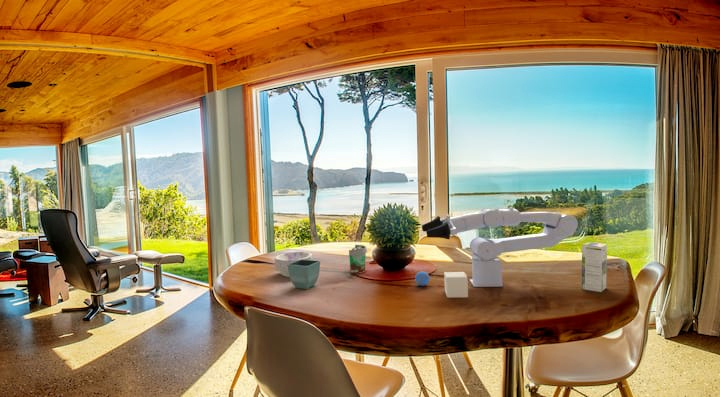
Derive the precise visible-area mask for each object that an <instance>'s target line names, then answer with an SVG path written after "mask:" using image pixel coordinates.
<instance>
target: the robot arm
mask: <svg viewBox="0 0 720 397" xmlns="http://www.w3.org/2000/svg"><path fill="white" fill-rule="evenodd" d="M521 222H522V223H541V224H544V227H543V230H542V232H541V233H534V234H526V235H525V234H524V235H518V236H511V237H503V238H502V237H501V238H483V237H480V236H479V237H478V236H477V237H474V238H472V240H471V241H470V243H469V249H470V251H471V253H473V254H472V255H471V265H472V266H471V268H472V269H471V270H472V278H470V279H469V282H470V283H471V285H472V286H473V287H475V288H478V287H480V288H483V287H484V288H485V287H487V288H488V287H489V288H490V287H495V288H496V287H498V288H499V287H503V268H502V267H503V265H502V261H501V259H500V258H498V257H500V256H501V255H503V254H504V253H506V254H507V253H512V252H513V253H514V252H519V251H528V250H537V249H543V248H552V247H554V246H556V245H558V244H560V243H561V242H562V241H563V240H564V239H567V238H568V237H572V236H574V233H575V232H576V231H577V229H578V225H579V223H578V222H579V221H578V219H577V218H576V216H573V215H571V214H565V213H559V212H551V211H528V212H520V211H519V210H518V209H516V208H514V207H508V208H507V209H506V208H504V209H503V208H502V209H500V208H498V207H494V209H488V208H483V209H481V210H480V211H477V212H471V213H470V212H469V213H466V214H461V215H457V216H456V215H455V216H450V215H449V214H446V217H445V218H441V216H440V215H438V216H436V217H435V218H434V219H432V220H431V221H428V222H426V223H424V224H422V225H421V229H422V230H421V231H422V232H426V237H427V238H440V239H445V240H450V239H451V237H450V236H455V235H458V234H460V233H465V232H469V231H473V230H474V231H475V230H479V229H482V228H486V227H488V228H493V229H495V228H496V227H510V226H511V227H515V226H517V227H518V225H520V223H521ZM495 257H497V258H495Z"/></svg>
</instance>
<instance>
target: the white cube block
mask: <svg viewBox="0 0 720 397" xmlns="http://www.w3.org/2000/svg"><path fill="white" fill-rule="evenodd" d="M443 275H444V276H443V282H444V283H443V284H444V293H445V295H446V298H469V292H468V291H469V288H468V287H469V286H468V285H469V284H468V283H469V282H468V280H469V279H468V276H467V274H466V272H464V271H444V272H443Z"/></svg>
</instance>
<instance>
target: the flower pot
mask: <svg viewBox="0 0 720 397" xmlns="http://www.w3.org/2000/svg"><path fill="white" fill-rule="evenodd" d="M320 265H321V260H313V259H312V260H298V261H296V262H293V263H290V264H288V271H289V276H290V277H289V280H290V281H291V284H292V285H293V287H295V289H303V290H308V289H309V288H312V287H314V286H315V285H316V283H317V281H318V279H319V275H320V269H321V268H320Z"/></svg>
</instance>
